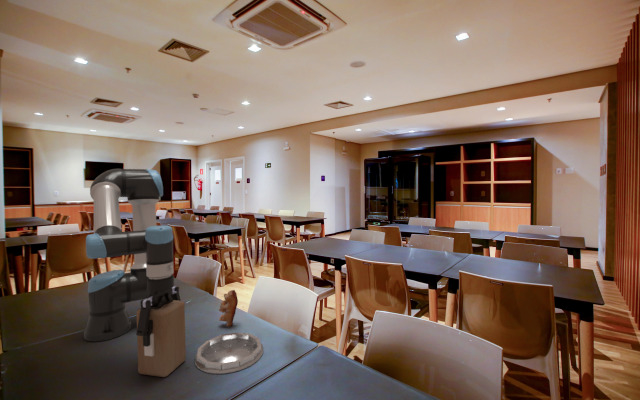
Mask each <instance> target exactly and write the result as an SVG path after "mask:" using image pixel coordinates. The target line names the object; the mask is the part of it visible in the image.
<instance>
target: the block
mask: <svg viewBox="0 0 640 400" xmlns="http://www.w3.org/2000/svg"><path fill="white" fill-rule="evenodd" d="M185 305H186V304H185V301H184V300H181V301H178V300H173V302H168V303H167V304H165V305H163V306H162V307H161V308H159V309H151V312H150V317H149V320H153V330H152V333H153V334H154V356H145V354H144V346H143V336H137V335H136V336H137V337H136V339H137V340H136V341H137V342H136V343H137V371H138V374H140V375H144V376H145V375H147V376H153V377H161V378H166V377H168V376H170V374H171V373H173V372H174V371H175V370H176V369H177V368H178V367H179V366H180V365H182V364H183V363H185V361H186V358H187V354H186V353H187V349H186V315H185V313H186V312H185V307H186V306H185ZM152 308H157V307H154V306H153V307H152ZM140 311H141V307H140V308H138V309H137V310H136V328H137V327H138V321H139V316H140ZM147 331H148V329H147Z"/></svg>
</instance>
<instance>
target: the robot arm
mask: <svg viewBox="0 0 640 400" xmlns="http://www.w3.org/2000/svg"><path fill="white" fill-rule="evenodd" d="M89 194H90V198H91V199H92V200H93V233H92V234H87V235H86V238H85V253H86V257H87V258H88V259H90V260H91V259H106V258H113V257H114V258H115V257H121V256H131V255H133V259H134V261H133V262H134V263H133V264H132V266H131V267H129V268H130V269H129V272H125V270H123V269H114V270H109V271H105V272H101V273H98V274H96V275H94V276H93V277H91V278H90V279H89V280H88V283H87V284H88V286H87V287H88V288H87V293H88V314H89V315H88V319H87V323H86V326H85V328H84V331H83V339H84V340H85V341H87V342H103V341H107V340H111V339H115V338H119V337H120V336H123V335H125V334H126V333H127V332H129V331H130V330H131V328H132V322H131V321H132V320H131V319H130V317H129V314H128V313H127V309H126V304H127V303H132V302H133V303H134V302H137V301H140V308H141V311H140V316H139V321H138V327H137V326H136V332H135V333H136V336H143V346H144V354H145V356H154V334H153V333H152V330H153V320H149V317H150V312H151V309H159V308H161V307H162V306H163V305H165V304H167V303H168V302H173V300H178V301H182V300H181V296H180V287H179V286H175V275H174V234H173V228H172V226H170V225H157V209H156V205H157V204H158V202H159V201H160V198H162V197H163V196H164V186H163V181H162V177H161V173H159V172H158V170H155V169H147V168H145V169H144V168H143V169H142V168H141V169H140V168H112V169H109V170H106V171H104V172H102V173H101V174H99V175H98V176H97V177H96V178H94V180H93V181H92V183H91V185H90V188H89ZM120 198H127V202H128V203H129V204H130V205H131V209H132V230H131V231H122V228H123V227H122V221H121V220H122V219H121V213H120V211H121V210H120V203H119V199H120ZM153 306H154V307H157V308H152V307H153ZM147 329H148V331H147Z"/></svg>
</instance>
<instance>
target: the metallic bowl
mask: <svg viewBox="0 0 640 400" xmlns="http://www.w3.org/2000/svg"><path fill="white" fill-rule="evenodd" d="M263 353H264V346H263V344H262V343H261V339H260V338H259V337H257V336H256V335H254V334H251V333H246V332H245V333H244V332H231V333H225V334H220V335H217V336H215V337H212V338H210V339H207V340H206V341H205V342H203V344H201V345H200V346H199V347H198V348H197V352H196V354H195V356H194V365H195V367H197V369H198V370H200V371H201V372H204V373H206V374H211V375H228V374H232V373H237V372H240V371H243V370H245V369H248V368H250V367H251V366H253V365H255V364H256V363H257V362H258V361H259V360H260V359H261V358H262V356H263Z"/></svg>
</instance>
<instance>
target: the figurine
mask: <svg viewBox="0 0 640 400" xmlns="http://www.w3.org/2000/svg"><path fill="white" fill-rule="evenodd" d="M223 298H224V300H222V301H221V302H220V305H219V309H218V311H219V312H221V313H223V314H221V315H220V316H219V320H218V321H220V322H225V326H226V327H231V326H233V322H234V318H235V315H236V311H237V307H238V302H239V300H238V294H237V292H236V290H235V289H232V290H229V291H228V292H227V293H224V294H223Z"/></svg>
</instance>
